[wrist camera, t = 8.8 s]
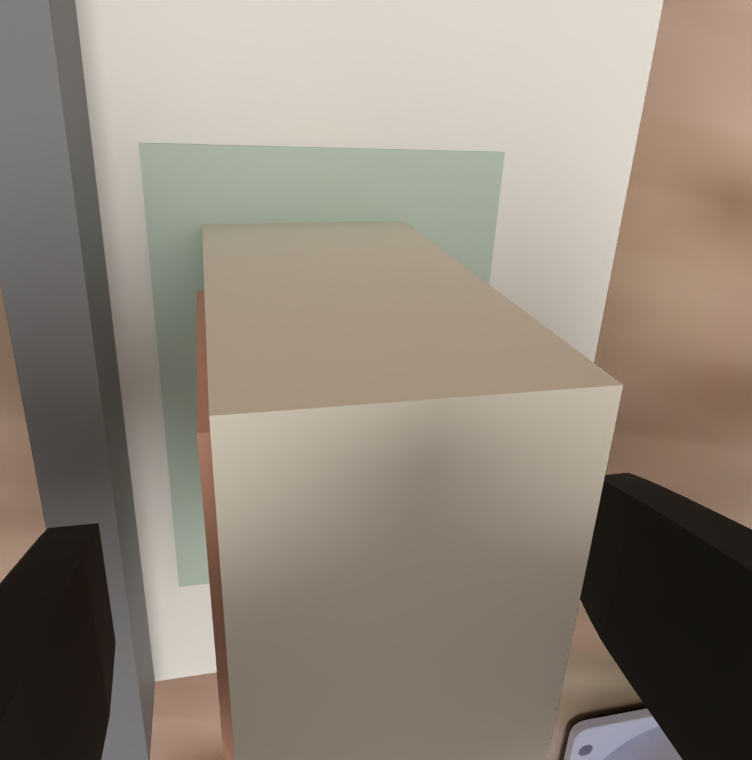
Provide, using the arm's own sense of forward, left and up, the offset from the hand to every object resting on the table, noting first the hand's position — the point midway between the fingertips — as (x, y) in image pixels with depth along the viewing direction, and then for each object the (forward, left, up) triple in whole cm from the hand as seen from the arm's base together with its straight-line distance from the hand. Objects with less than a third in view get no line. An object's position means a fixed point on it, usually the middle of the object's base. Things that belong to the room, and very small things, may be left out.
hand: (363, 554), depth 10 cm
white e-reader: (0, -1, -6) cm, 6 cm away
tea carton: (0, 0, -6) cm, 6 cm away
